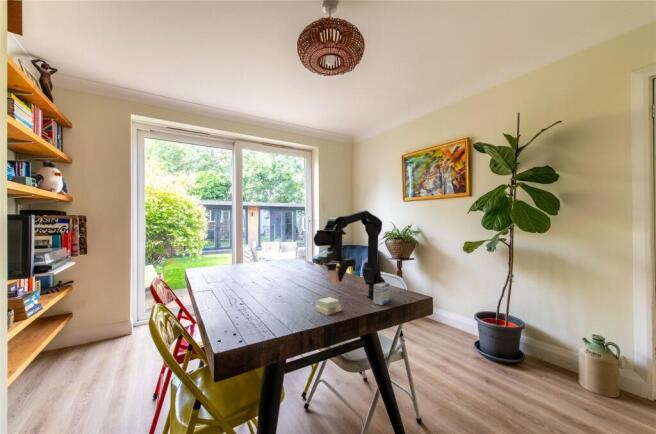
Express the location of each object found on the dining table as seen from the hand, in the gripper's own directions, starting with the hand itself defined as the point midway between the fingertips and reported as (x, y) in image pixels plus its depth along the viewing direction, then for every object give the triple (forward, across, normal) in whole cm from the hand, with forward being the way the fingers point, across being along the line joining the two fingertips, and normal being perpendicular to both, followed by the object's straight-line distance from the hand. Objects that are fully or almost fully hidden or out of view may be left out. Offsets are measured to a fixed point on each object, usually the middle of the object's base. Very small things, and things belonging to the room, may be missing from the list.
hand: (336, 280), depth 113 cm
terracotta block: (+1, 0, 0) cm, 1 cm away
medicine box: (+12, +8, +21) cm, 26 cm away
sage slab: (+11, -2, -3) cm, 11 cm away
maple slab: (+13, -2, -3) cm, 14 cm away
